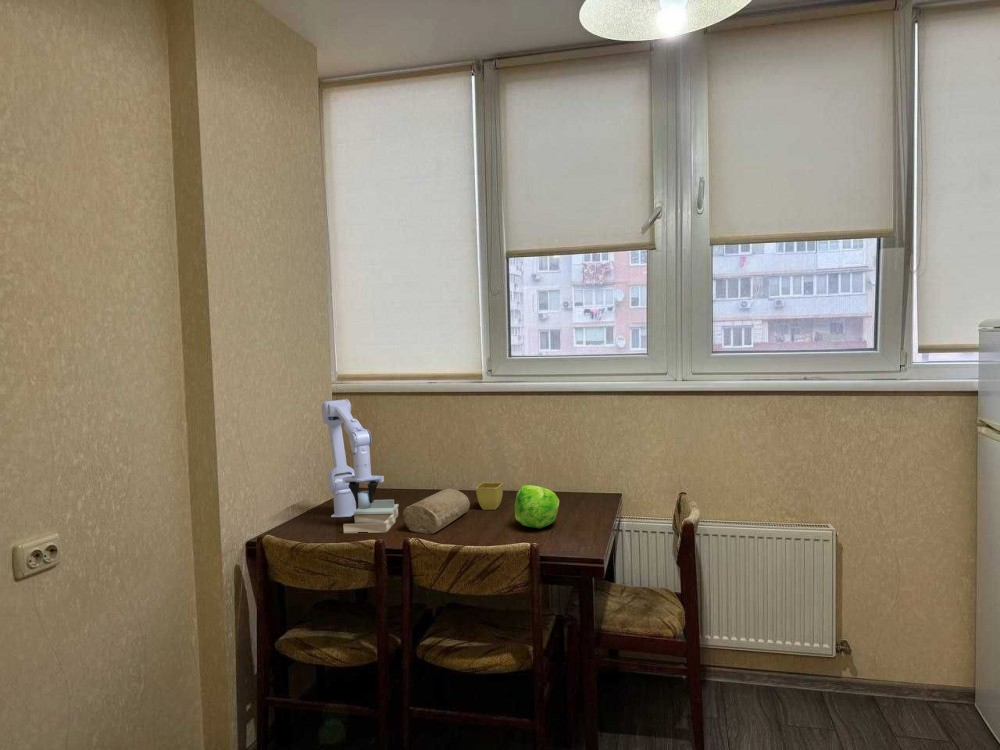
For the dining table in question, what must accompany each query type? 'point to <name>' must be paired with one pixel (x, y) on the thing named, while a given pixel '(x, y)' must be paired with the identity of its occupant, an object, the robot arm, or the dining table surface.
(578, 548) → the dining table surface
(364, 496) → the pale blue cylinder
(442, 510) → the core sample
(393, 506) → the lid
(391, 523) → the frame
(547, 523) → the lettuce
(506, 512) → the dining table surface
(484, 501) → the flower pot
